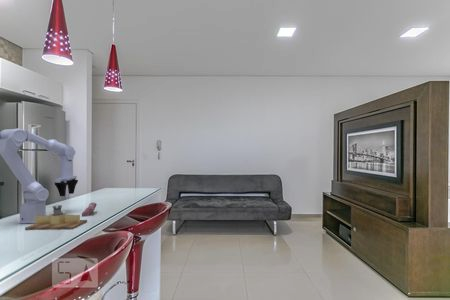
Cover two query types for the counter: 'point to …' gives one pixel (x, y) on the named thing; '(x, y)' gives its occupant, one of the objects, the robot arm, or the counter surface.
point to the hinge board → (48, 227)
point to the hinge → (57, 219)
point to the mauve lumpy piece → (89, 209)
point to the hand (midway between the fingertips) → (67, 194)
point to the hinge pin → (57, 210)
